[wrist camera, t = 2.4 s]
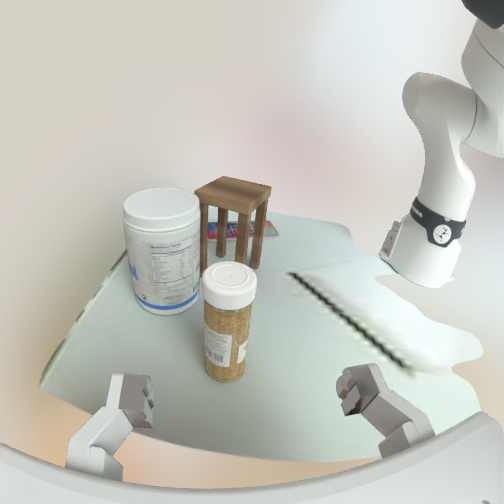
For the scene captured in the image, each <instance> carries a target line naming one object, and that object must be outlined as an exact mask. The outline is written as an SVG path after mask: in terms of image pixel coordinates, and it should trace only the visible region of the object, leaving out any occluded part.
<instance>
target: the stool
mask: <svg viewBox="0 0 504 504" xmlns="http://www.w3.org/2000/svg"><path fill="white" fill-rule="evenodd" d="M194 194H195V195H196V196H197V197H198V198H199V208H200V276H201V277H202V275H203V273H204V271H205V270H206V268H207V232H208V205H211V206H215V207H218V223H217V247H216V256H218V257H221V258H223V257H224V256H225V254H226V237H227V221H228V210H231V211H234V212H238V213H239V217H238V228H237V241H236V253H235V262H239V263H242V264H244V265H246V257H247V247H248V238H249V228H250V219H251V213H252V212H253V211H254V210H255V209H256V208H257V209H256V218H255V226H254V235H253V243H252V252H251V261H250V267H251V268H254V269H257V268H258V266H259V263H260V255H261V248H262V241H263V233H264V226H265V218H266V211H267V203H268V198H269V197H270V194H271V187H270V186H266V185H262V184H257V183H253V182H248V181H244V180H239V179H235V178H230V177H225V176H222V177H220V178H218V179H216V180H214V181H213V182H210V183H209V184H207V185H205V186H203V187H201V188H199V189H197V190H195V193H194Z"/></svg>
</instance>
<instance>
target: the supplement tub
mask: <svg viewBox="0 0 504 504" xmlns="http://www.w3.org/2000/svg"><path fill="white" fill-rule="evenodd" d="M123 223H124V231H125V239H126V245H127V252H128V259H129V265H130V270H131V276H132V282H133V287H134V292H135V296H136V299H137V301H138V303H139V304H140V305H141V306H142V307H143V308H144V309H146V310H147V311H149V312H151V313H154V314H158V315H173V314H178V313H181V312H183V311H185V310H187V309H189V308H190V307H191V306H192V305H193V304H194V303H195V302H196V300H197V298H198V296H199V287H200V208H199V198H198V197H197V196H196V195H195V194H194V193H192V192H190V191H187V190H184V189H180V188H172V187H161V188H152V189H147V190H143V191H140V192H137V193H135V194H133V195H131V196H130V197H128V198H127V199H126V200H125V202H124V204H123Z"/></svg>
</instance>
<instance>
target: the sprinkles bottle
mask: <svg viewBox="0 0 504 504" xmlns="http://www.w3.org/2000/svg"><path fill="white" fill-rule="evenodd" d="M256 286H257V277H256V274H255V273H254V271H253V270H252V269H251V268H250V267H248V266H246V265H244V264H242V263H239V262H234V261H222V262H217V263H214V264H212V265H210V266H209V267H207V268H206V270H205V271H204V273H203V275H202V295H203V298H204V339H205V353H206V363H205V367H206V371H207V373H208V374H209V375H210V376H211V377H212V378H213V379H215V380H217V381H219V382H233V381H235V380H237V379H238V378H240V376H241V375H242V374H243V373H244V370H245V356H246V351H247V343H248V335H249V326H250V322H249V321H250V314H251V306H252V303H253V300H254V298H255V294H256Z"/></svg>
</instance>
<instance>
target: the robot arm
mask: <svg viewBox="0 0 504 504" xmlns="http://www.w3.org/2000/svg"><path fill="white" fill-rule="evenodd" d="M462 2H463V4H464V6H465V7H466V8H467V9H468V10H469V11H470V12H471V13H473V14H474V15H475V16H476V17H477V18H478V19H477V21H476V23H475V26H474V28H473V31H472V33H471V36H470V38H469V41H468V43H467V45H466V48H465V50H464V52H463V54H462V60H461V61H462V69H463V72H464V75H465V77H466V79H467V80H468V82H469V84H470V86H471V87H472V89H470V88H468V87H465V86H463V85H461V84H459V83H456V82H454V81H452V80H449V79H447V78H445V77H442V76H439V75H434V74H428V73H420V72H417V73H415V74H413V75H412V76H411V77H410V78H409V79H408V80H407V81H406V83H405V85H404V88H403V93H402V94H403V95H402V97H403V98H402V99H403V104H404V108H405V110H406V112H407V114H408V116H409V118H410V119H411V120H412V121H413V122H414V124H415V125H416V127H417V129H418V130H419V132H420V135H421V137H422V140H423V143H424V148H425V168H424V174H423V178H422V183H421V187H420V190H419V194H418V196H417V197H416V198H415V200H414V201H413V203H412V207H411V209H410V213H409V214H408V215H406V216H405V217H403V218H402V221H401V223H399V222H397V221H394V223H393V226H392V229H391V230H390V231H389V232H388V235H387V237H386V239H385V242H384V244H383V247H382V249H381V251H380V253H379V256H380V257H381V258H382V259H383V260H385V261H386V262H388V263H389V264H390V265H391V266H392V267H393V268H394V269H395V270H396V271H397V272H398V273H399V274H400V275H401V276H403V277H404V278H406V279H408V280H409V281H411V282H413V283H415V284H417V285H420V286H423V287H426V288H440V287H442V286H443V285H444V284H445V283H448V282H452V281H453V279H454V275H453V274H452V270H453V268H454V265H455V263H456V260H457V258H458V255H459V252H460V249H461V245H460V242H459V238H460V237H461V234H462V232H463V231H464V228H465V224H466V220H465V218H466V216H467V213H468V210H469V207H470V204H471V201H472V198H473V195H474V192H475V189H476V183H475V178H474V176H473V174H472V172H471V171H470V169H469V168H468V166H467V165H466V164H465V163H464V162H463V160H462V159H461V156H460V150H459V149H460V142H462V143H464V144H466V145H468V146H471V147H473V148H475V149H477V150H479V151H481V152H483V153H485V154H488V155H491V156H495V157H498V158H503V159H504V0H462ZM342 373H343V375H342V376H341V377H339V378H338V380H337V382H336V391H337V395H338V397H340V398H341V399H342V403H341V406H342V409H343V412H344V415H345V416H349V415H354V414H359V413H361V415H362V416H363V417H365V418H366V419H367V420H368V421H369V422H370V423H371V424H372V425H373V426H374V427H375V428H376V429H377V430H378V431H379V432H380V433H382V434H383V435H384V436H385V437H386V438H385V439H384V440H383V441H382V442H380V443H379V445H378V447H379V450H380V453H381V456H382V459H379V460H377V461H374V462H370V463H367V464H365V465H361V466H358V467H355V468H351V469H348V470H344V471H341V472H337V473H333V474H329V475H325V476H320V477H316V478H311V479H306V480H301V481H295V482H289V483H282V484H276V485H267V486H258V487H247V488H230V489H186V488H185V489H184V488H170V487H169V488H168V487H158V486H149V485H141V484H134V483H128V482H122V470H123V466H122V465H121V464H120V463H119V462H118V461H116V460H115V459H114V458H113V457H112V456H113V455H114V453H115V452H116V451H117V449H118V448H119V447H120V445H121V444H122V443H123V441H124V440H125V439H126V437H127V436H128V435H129V433H130V432H131V431H132V429H133V427H139V428H152V429H153V416H154V415H153V412H152V410H151V409H152V408H153V406H154V402H155V394H154V388H153V385H151V379H150V376H146V375H134V374H126V373H116V372H113V374H112V376H111V380H110V385H109V390H108V395H107V400H106V406H105V407H104V406H102V407H101V408H100V409H99V410H98V411H97V412H96V413H95V414H94V415H93V416H92V417H91V418H90V419H89V420H88V421H87V422H86V423H85V424H84V425H83V427H82V428H80V429H79V430H78V432H77V433H76V434H75V435H74V436H73V437H72V438H71V439H70V440H69V446H68V452H67V459H66V465H65V468H64V467H61V466H58V465H55V464H52V463H49V462H46V461H44V460H41V459H38V458H36V457H33V456H31V455H28V454H26V453H24V452H21V451H19V450H17V449H14V448H12V447H10V446H8V445H6V444H4V443H0V504H504V430H503V428H502V426H501V424H500V423H499V422H498V421H497V420H496V419H495V418H493V417H492V416H490V415H488V414H487V413H485V412H482V411H479V412H476V413H475V414H473V415H471V416H470V417H468V418H467V419H465V420H463V421H461V422H460V423H458V424H456V425H454V426H453V427H451V428H449V429H447V430H445V431H443V432H441V433H439V434H438V435H436V436H435V433H434V431H433V429H432V427H431V424H430V422H429V420H428V418H427V416H426V414H425V413H423V412H422V411H420V410H419V409H418V408H416V407H415V406H413V405H412V404H411V403H409V402H408V401H406V400H405V399H404V398H402V397H401V396H399V395H398V394H397V393H395V392H394V391H393V390H391V391H390V390H389V388H388V386H387V384H386V382H385V379H384V377H383V375H382V373H381V371H380V369H379V367H378V365H377V364H376V363H370V364H364V365H359V366H354V367H348V368H345V369H344V370H343V372H342Z"/></svg>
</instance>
